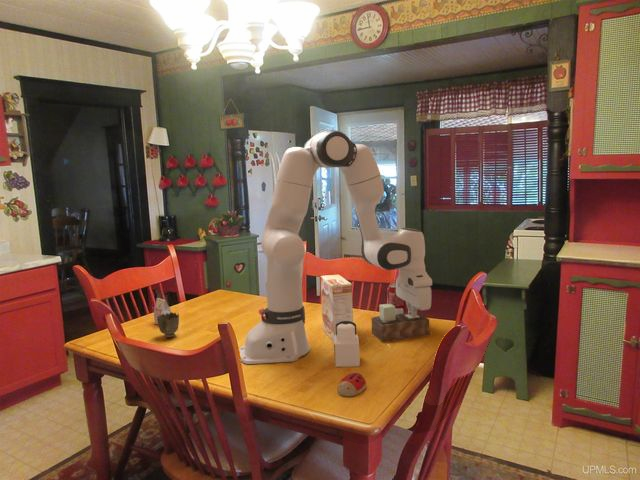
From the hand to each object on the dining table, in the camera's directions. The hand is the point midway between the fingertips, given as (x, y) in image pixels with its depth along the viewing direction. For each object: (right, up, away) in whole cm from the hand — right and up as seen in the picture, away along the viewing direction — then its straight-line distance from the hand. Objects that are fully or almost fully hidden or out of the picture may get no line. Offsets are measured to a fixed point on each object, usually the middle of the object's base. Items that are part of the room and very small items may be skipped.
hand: (412, 315), depth 163 cm
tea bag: (-91, -7, +21) cm, 94 cm away
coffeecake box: (-25, -7, +2) cm, 26 cm away
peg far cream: (0, -6, +1) cm, 6 cm away
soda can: (-2, -3, +20) cm, 20 cm away
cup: (-84, -9, +6) cm, 85 cm away
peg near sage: (-9, -2, -2) cm, 9 cm away
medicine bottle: (-23, -11, -21) cm, 33 cm away
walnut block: (-4, -6, 0) cm, 7 cm away
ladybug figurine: (-23, -13, -39) cm, 47 cm away
